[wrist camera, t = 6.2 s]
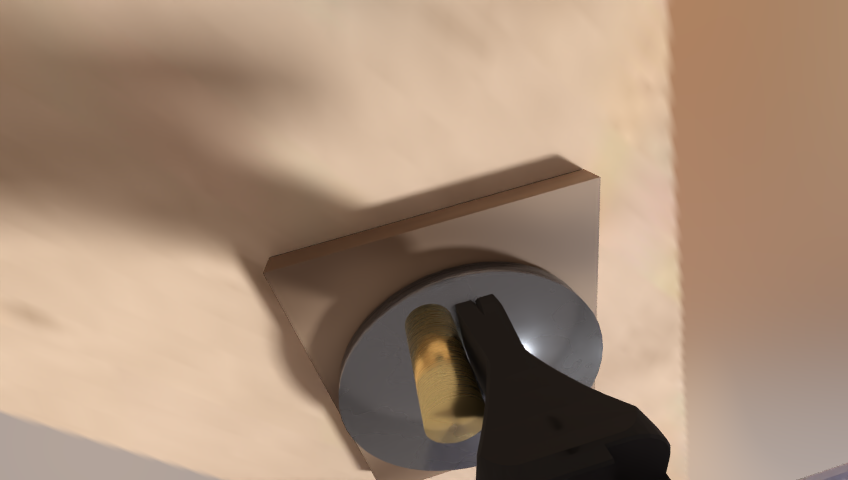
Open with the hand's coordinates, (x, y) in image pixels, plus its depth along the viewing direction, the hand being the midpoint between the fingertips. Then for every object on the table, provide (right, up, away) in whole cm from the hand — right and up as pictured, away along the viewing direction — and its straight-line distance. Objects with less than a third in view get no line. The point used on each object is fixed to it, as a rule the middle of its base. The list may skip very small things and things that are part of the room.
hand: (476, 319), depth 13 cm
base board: (0, -3, +6) cm, 6 cm away
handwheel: (0, -4, +4) cm, 6 cm away
